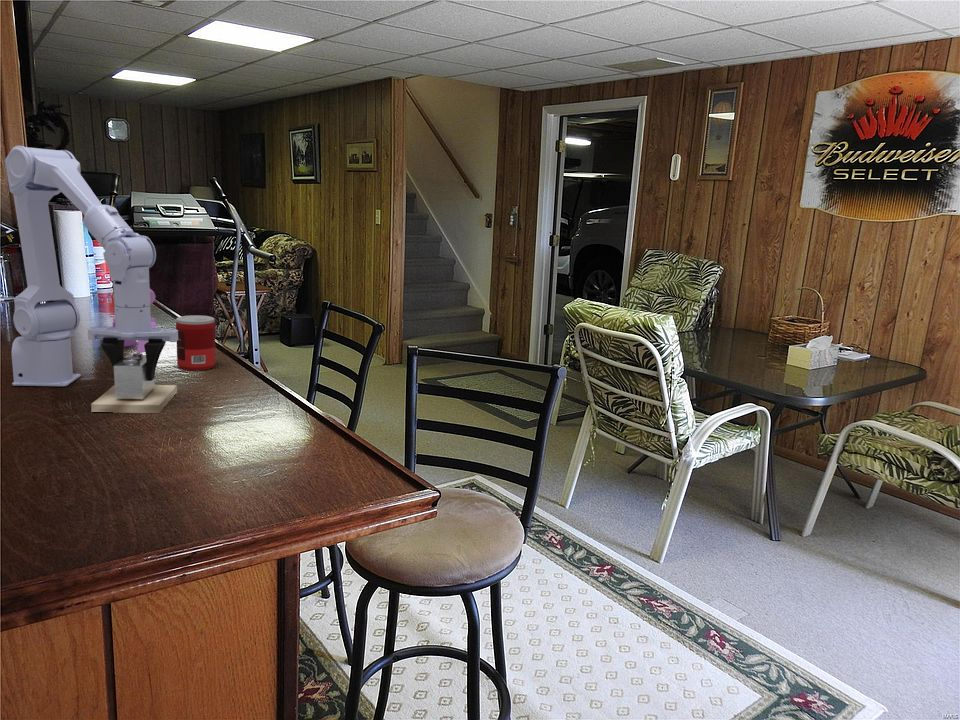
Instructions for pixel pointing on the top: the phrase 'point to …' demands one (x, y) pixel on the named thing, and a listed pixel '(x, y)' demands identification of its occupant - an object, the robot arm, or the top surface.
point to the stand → (135, 401)
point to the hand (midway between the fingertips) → (135, 379)
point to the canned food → (195, 342)
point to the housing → (132, 377)
